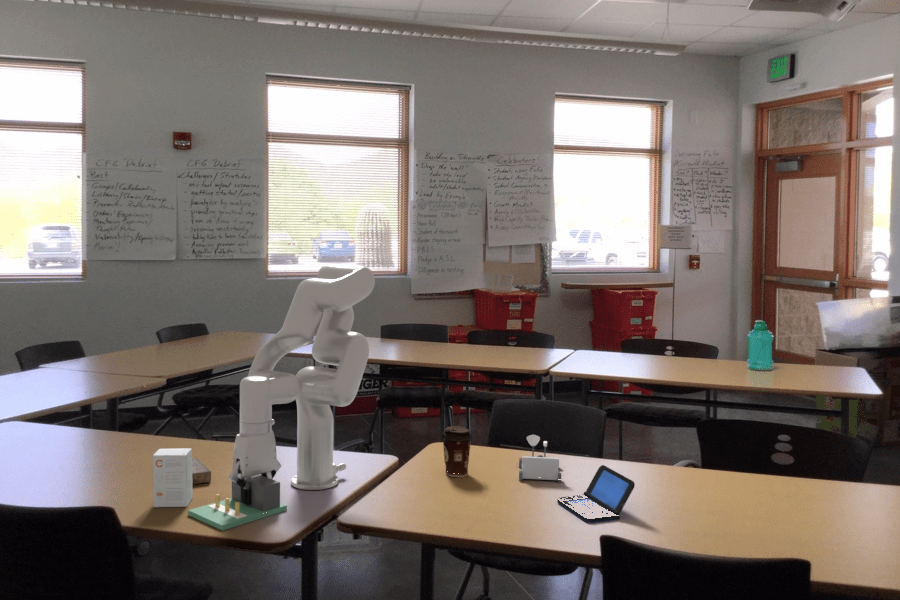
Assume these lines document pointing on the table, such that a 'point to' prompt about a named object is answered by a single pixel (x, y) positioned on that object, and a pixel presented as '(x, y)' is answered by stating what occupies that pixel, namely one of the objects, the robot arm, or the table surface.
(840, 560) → the table surface
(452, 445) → the coffee cup
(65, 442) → the table surface
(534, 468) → the toy rover
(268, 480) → the block
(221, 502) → the header board
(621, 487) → the laptop
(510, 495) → the table surface
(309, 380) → the robot arm
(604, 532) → the table surface
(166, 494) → the small box
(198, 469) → the box
